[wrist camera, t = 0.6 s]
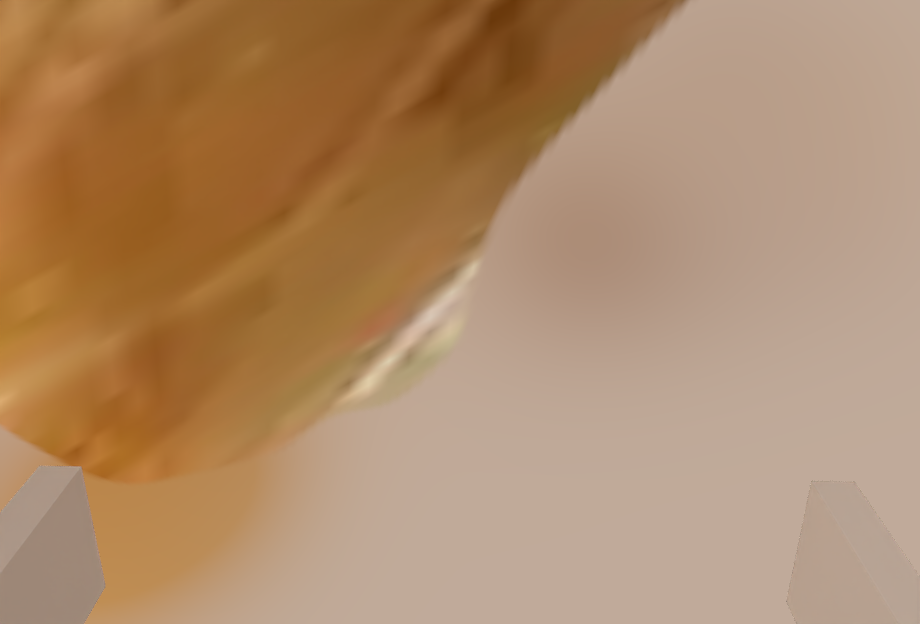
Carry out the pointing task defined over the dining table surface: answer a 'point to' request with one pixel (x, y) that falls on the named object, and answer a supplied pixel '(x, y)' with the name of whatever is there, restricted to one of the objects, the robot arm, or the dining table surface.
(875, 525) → the robot arm
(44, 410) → the dining table surface
